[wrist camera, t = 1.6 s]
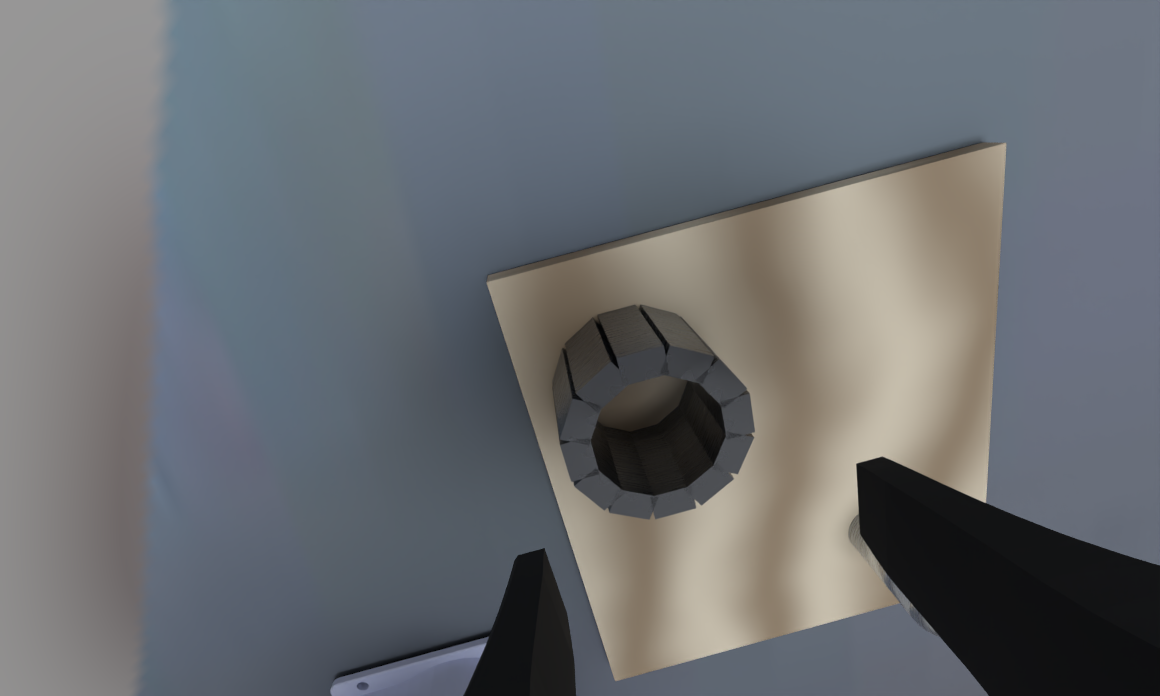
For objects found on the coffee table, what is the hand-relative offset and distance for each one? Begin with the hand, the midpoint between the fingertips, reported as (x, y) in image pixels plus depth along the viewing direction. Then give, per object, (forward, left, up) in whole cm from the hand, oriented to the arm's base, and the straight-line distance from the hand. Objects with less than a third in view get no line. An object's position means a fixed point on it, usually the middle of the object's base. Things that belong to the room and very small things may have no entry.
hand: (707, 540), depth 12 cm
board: (+5, -5, -9) cm, 12 cm away
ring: (0, 0, -8) cm, 8 cm away
